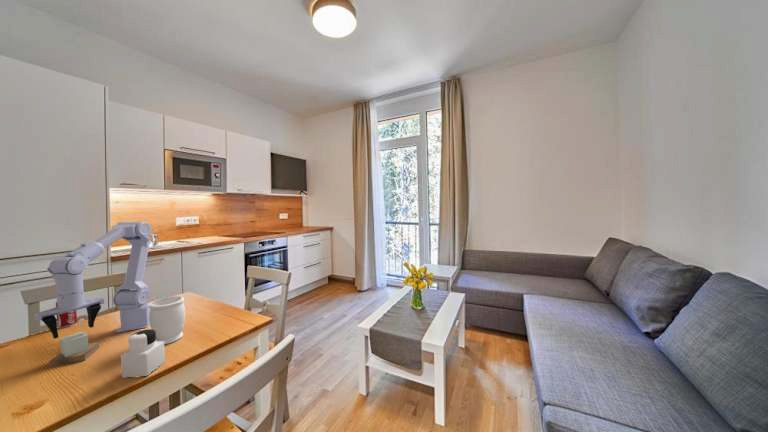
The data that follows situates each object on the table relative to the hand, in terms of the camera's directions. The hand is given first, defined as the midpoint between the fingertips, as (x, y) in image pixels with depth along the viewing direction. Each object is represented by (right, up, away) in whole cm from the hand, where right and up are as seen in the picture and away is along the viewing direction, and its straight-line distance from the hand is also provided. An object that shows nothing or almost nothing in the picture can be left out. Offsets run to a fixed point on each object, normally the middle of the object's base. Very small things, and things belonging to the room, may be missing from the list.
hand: (74, 331), depth 85 cm
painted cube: (0, -7, 0) cm, 7 cm away
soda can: (-30, -8, +22) cm, 39 cm away
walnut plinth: (0, -9, 0) cm, 9 cm away
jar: (+23, -8, +11) cm, 26 cm away
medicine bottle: (+30, -9, -6) cm, 32 cm away
